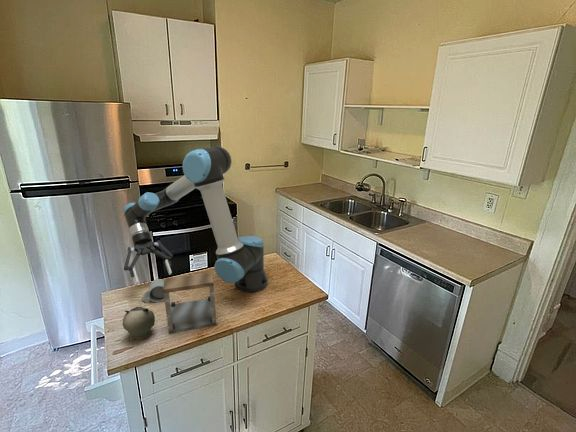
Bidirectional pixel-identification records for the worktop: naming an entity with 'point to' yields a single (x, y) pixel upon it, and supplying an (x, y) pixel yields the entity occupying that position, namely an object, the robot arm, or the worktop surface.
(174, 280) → the shelf
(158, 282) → the ceramic mug
